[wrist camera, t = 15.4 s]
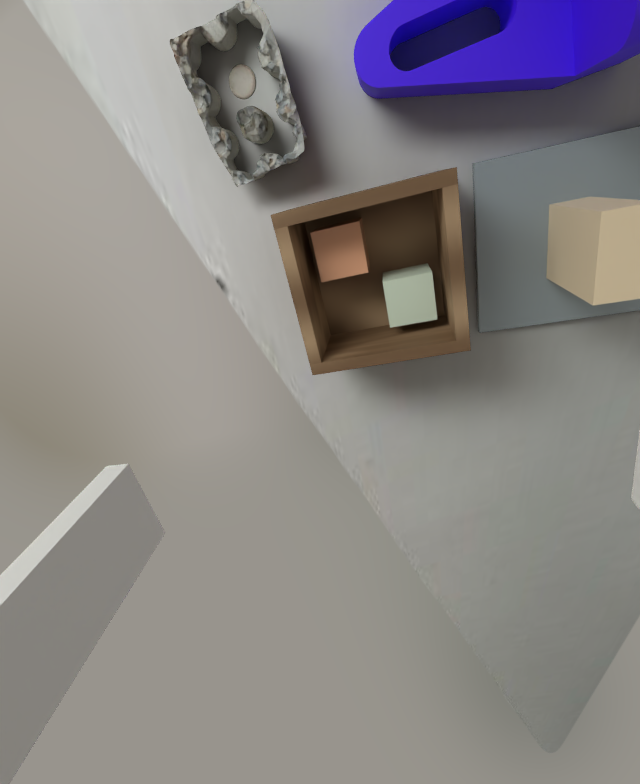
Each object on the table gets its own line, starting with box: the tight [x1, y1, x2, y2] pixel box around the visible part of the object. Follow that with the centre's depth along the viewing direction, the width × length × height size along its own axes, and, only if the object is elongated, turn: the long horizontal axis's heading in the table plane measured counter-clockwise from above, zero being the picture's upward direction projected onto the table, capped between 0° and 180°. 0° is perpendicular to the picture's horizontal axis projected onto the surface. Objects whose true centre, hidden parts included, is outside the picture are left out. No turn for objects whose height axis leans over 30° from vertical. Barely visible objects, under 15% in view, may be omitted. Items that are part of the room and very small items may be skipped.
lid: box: [473, 126, 640, 333], centre depth 30 cm, size 14×14×10 cm
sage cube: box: [383, 263, 437, 328], centre depth 36 cm, size 4×4×4 cm
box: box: [271, 167, 471, 375], centre depth 34 cm, size 13×13×8 cm
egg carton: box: [170, 0, 307, 187], centre depth 32 cm, size 11×8×4 cm
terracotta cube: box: [310, 217, 370, 282], centre depth 35 cm, size 4×4×4 cm
